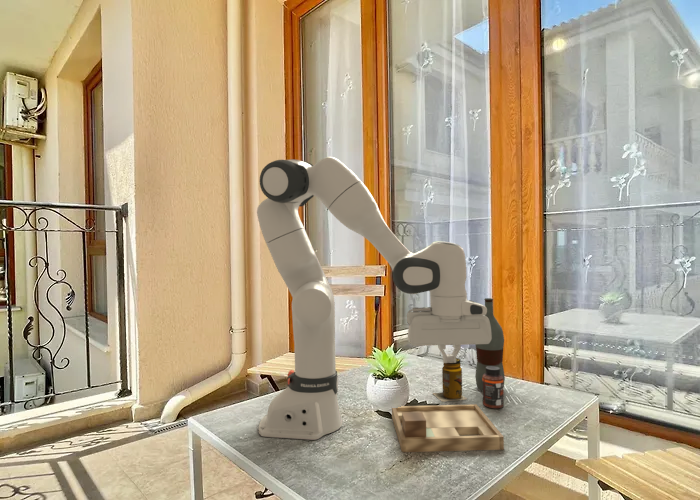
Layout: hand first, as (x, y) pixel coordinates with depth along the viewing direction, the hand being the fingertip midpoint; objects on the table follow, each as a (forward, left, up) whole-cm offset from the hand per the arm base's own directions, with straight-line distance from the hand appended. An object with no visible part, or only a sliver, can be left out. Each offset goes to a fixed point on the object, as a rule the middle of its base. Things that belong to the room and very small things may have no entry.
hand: (449, 362), depth 104 cm
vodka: (+22, +35, -19) cm, 45 cm away
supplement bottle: (+18, +21, -19) cm, 33 cm away
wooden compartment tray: (-1, +4, -19) cm, 20 cm away
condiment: (+7, +29, -19) cm, 35 cm away
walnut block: (-10, -2, -17) cm, 20 cm away
